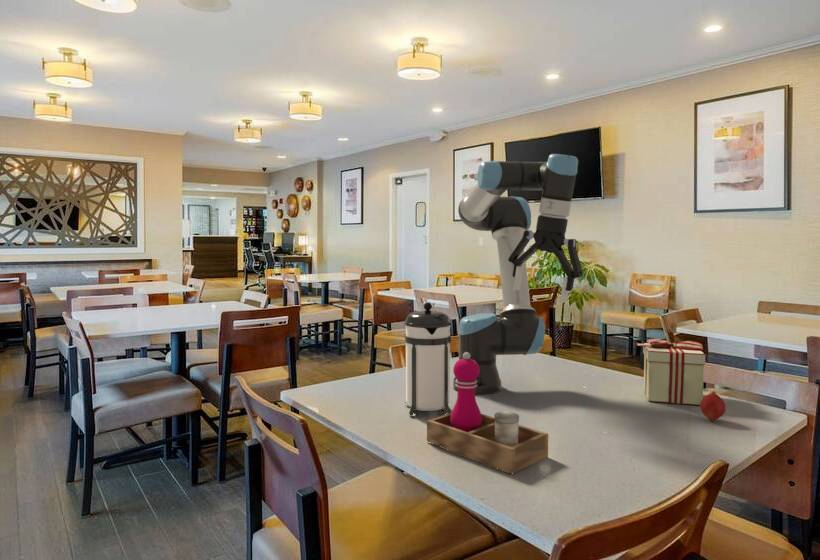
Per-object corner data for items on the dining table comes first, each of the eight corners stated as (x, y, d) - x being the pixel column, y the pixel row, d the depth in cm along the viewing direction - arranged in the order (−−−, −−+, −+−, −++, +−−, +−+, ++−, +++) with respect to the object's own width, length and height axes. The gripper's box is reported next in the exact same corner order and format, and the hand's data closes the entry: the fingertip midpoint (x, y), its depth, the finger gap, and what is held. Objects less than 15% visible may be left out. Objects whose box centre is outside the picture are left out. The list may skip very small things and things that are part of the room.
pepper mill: (480, 444, 122) (481, 356, 121) (448, 442, 123) (448, 354, 122) (482, 433, 129) (483, 349, 128) (452, 431, 130) (452, 348, 129)
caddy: (426, 442, 126) (426, 403, 126) (464, 429, 135) (464, 392, 135) (511, 474, 109) (512, 429, 108) (548, 457, 118) (548, 415, 117)
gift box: (690, 389, 171) (692, 335, 170) (708, 407, 153) (710, 346, 152) (632, 386, 175) (634, 333, 174) (643, 403, 157) (645, 343, 156)
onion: (694, 417, 144) (695, 387, 143) (715, 416, 145) (716, 387, 144) (708, 424, 138) (709, 393, 138) (730, 424, 139) (731, 393, 138)
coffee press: (468, 409, 151) (468, 301, 149) (430, 423, 140) (430, 307, 138) (421, 397, 163) (421, 297, 161) (383, 409, 152) (382, 301, 149)
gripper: (503, 208, 145) (491, 286, 149) (595, 224, 130) (578, 309, 134) (517, 208, 150) (505, 283, 155) (606, 224, 135) (589, 305, 140)
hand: (539, 295), depth 145 cm, fingers open, 13 cm apart
